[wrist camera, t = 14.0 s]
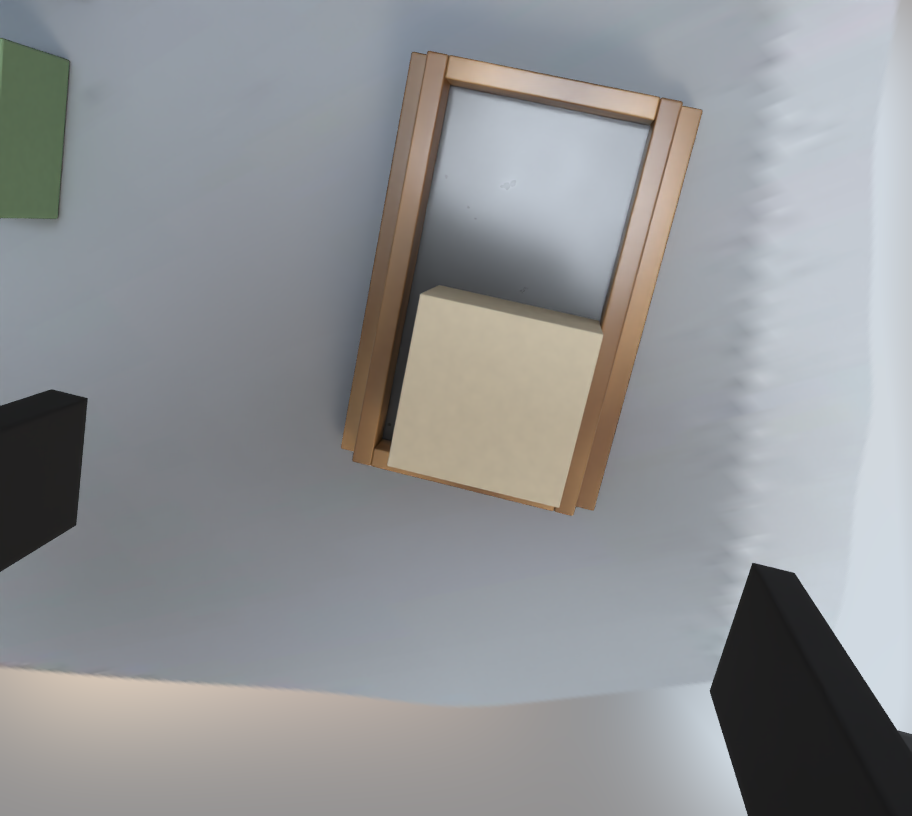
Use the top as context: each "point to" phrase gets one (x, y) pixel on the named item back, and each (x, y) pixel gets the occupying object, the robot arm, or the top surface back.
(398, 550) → the top surface
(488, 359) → the beige block
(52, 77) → the sage block
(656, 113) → the frame
